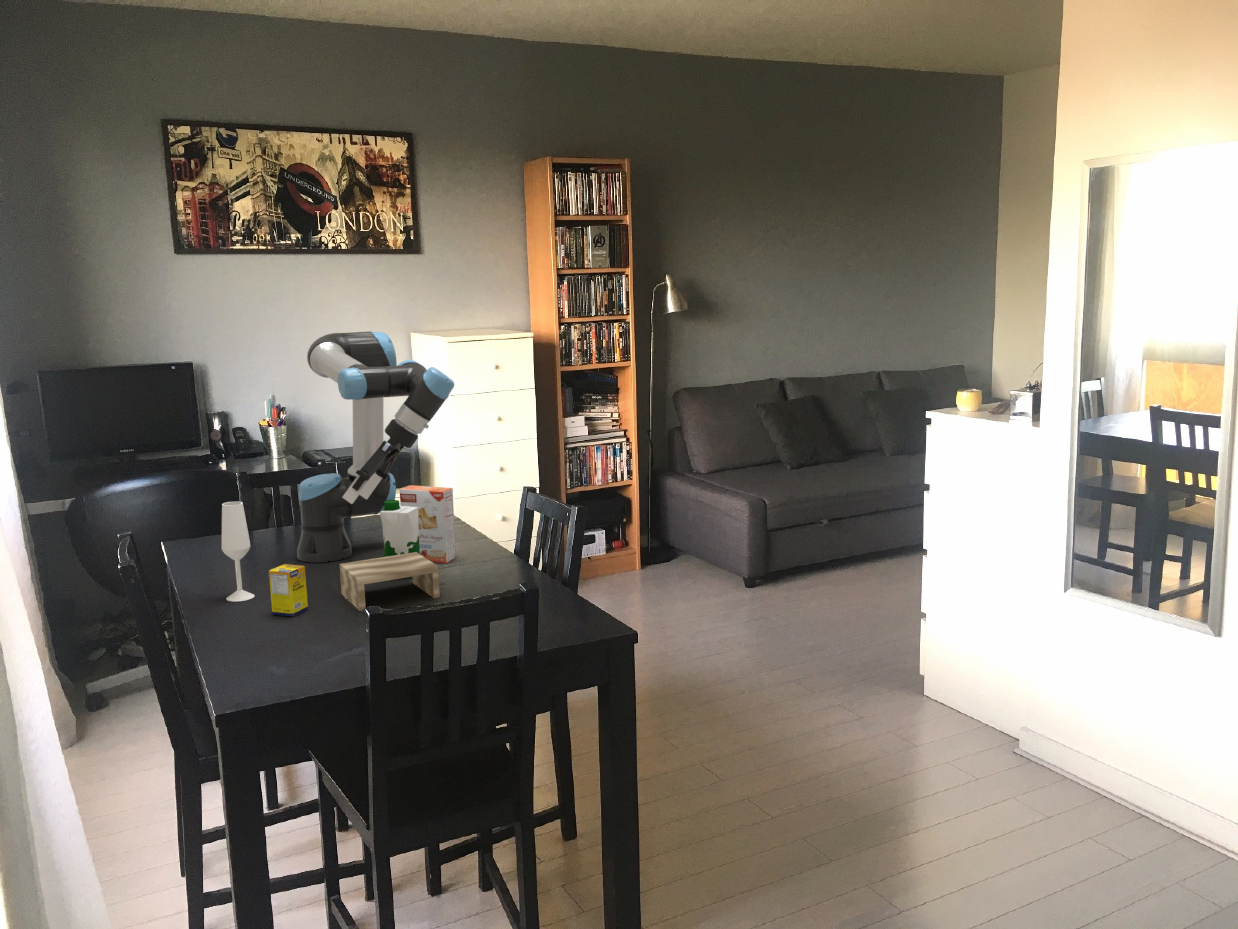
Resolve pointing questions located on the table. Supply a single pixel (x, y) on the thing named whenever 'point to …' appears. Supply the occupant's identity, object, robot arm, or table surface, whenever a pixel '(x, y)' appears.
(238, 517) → the champagne flute
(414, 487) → the cracker box
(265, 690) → the table surface
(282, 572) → the supplement box
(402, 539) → the milk carton
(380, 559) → the oak shelf
